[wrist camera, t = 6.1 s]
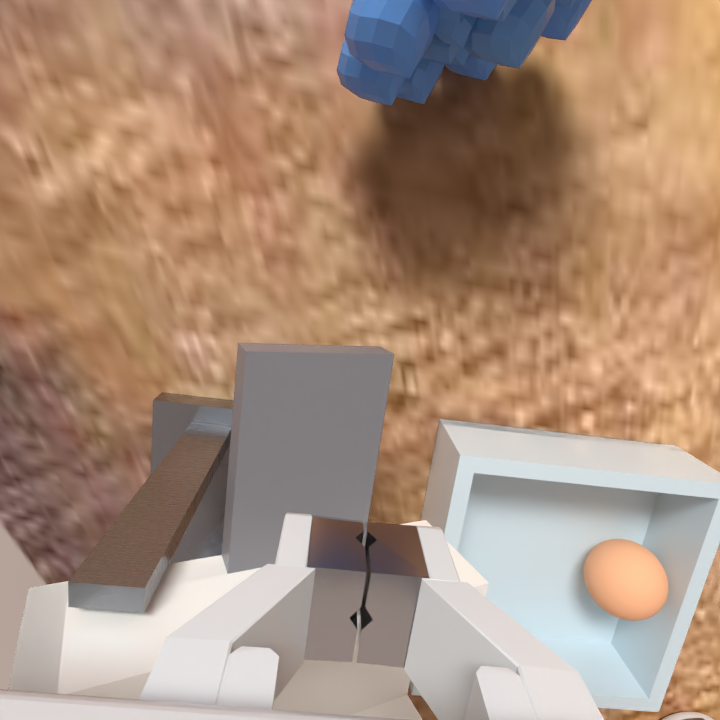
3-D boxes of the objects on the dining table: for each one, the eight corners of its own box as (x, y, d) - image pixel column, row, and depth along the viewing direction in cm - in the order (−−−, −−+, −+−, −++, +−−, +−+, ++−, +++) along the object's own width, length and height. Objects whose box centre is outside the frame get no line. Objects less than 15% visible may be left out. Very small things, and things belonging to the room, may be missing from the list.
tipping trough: (458, 348, 19) (536, 381, 15) (393, 689, 23) (443, 775, 19) (21, 337, 12) (-13, 388, 9) (35, 815, 16) (17, 978, 13)
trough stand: (277, 405, 26) (221, 569, 13) (256, 611, 29) (194, 903, 16) (161, 392, 25) (-12, 548, 13) (153, 603, 28) (6, 897, 16)
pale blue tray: (675, 445, 27) (740, 485, 23) (612, 644, 31) (658, 711, 26) (439, 418, 26) (460, 455, 22) (400, 627, 30) (411, 695, 25)
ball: (697, 568, 24) (635, 574, 23) (674, 634, 25) (613, 643, 24) (633, 522, 28) (577, 525, 27) (615, 581, 29) (560, 587, 28)
